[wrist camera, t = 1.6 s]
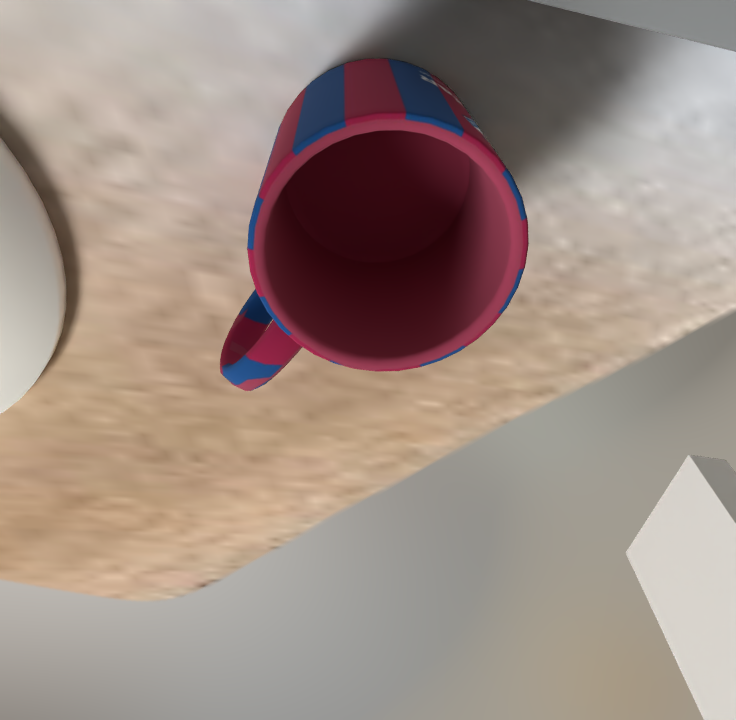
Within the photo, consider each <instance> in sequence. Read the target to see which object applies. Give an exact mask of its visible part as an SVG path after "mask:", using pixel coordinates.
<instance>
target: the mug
mask: <svg viewBox="0 0 736 720" xmlns="http://www.w3.org/2000/svg"><path fill="white" fill-rule="evenodd" d="M247 250H248V258H249V266H250V272H251V275H252V279H253V282H254V285H255V288H256V289H255V290H254V292H253V293H252V294H251V296H250V297H249V299H248V300H247V302H246V303H245V305H244V306H243V308H242V309H241V311H240V313H239V314H238V316H237V318H236V319H235V321H234V323H233V325H232V327H231V329H230V331H229V333H228V336H227V338H226V340H225V343H224V346H223V349H222V353H221V359H220V371H221V374H222V375H223V376H224V377H225V378H227V379H228V380H229V381H230V382H231V383H232V384H233V385H234V386H236V387H239V388H241V389H243V390H245V391H252V390H254V389H256V388H258V387H260V386H262V385H264V384H266V383H267V382H268V381H269V380H271V379H272V378H273V377H274V376H276V375H277V374H278V373H279V372H280V371H281V370H282V369H283V368H284V367H285V366H286V365H287V364H288V363H289V362H290V361H291V359H292V358H293V357H294V356H295V355H296V354H297V353H298V352H299V350H300V349H301V348H302V347H304V348H305V349H307V350H308V351H310V352H311V353H313V354H314V355H317V356H319V357H321V358H324V359H326V360H328V361H330V362H333V363H335V364H339V365H343V366H346V367H350V368H354V369H360V370H369V371H400V370H406V369H412V368H418V367H422V366H425V365H428V364H431V363H434V362H437V361H440V360H442V359H445V358H447V357H449V356H451V355H453V354H455V353H457V352H459V351H461V350H462V349H464V348H465V347H466V346H468V345H469V344H471V343H472V342H474V341H475V340H477V339H478V338H479V337H480V336H481V335H482V334H483V333H485V332H486V331H487V330H488V329H489V328H490V327H491V326H492V325H493V324H494V323H495V322H496V320H497V319H498V318H499V317H500V315H501V314H502V313H503V311H504V310H505V309H506V308H507V306H508V305H509V303H510V301H511V299H512V297H513V295H514V293H515V292H516V290H517V288H518V286H519V283H520V280H521V277H522V274H523V271H524V268H525V264H526V257H527V250H528V220H527V216H526V212H525V208H524V204H523V199H522V196H521V194H520V192H519V190H518V188H517V186H516V183H515V181H514V179H513V177H512V175H511V174H510V172H509V171H508V169H507V168H506V166H505V165H504V164H503V162H502V161H501V159H500V158H499V156H498V155H497V153H496V152H495V150H494V149H493V148H492V146H491V145H490V143H489V142H488V140H487V139H486V137H485V136H484V135H483V133H482V132H481V130H480V129H479V127H478V126H477V124H476V123H475V121H474V120H473V119H472V117H471V116H470V114H469V113H468V111H467V110H466V108H465V107H464V106H463V104H462V103H461V102H460V100H459V99H458V97H457V96H456V95H455V93H454V92H453V91H452V90H451V89H450V88H449V87H448V86H447V85H445V84H444V83H443V82H442V81H441V80H440V79H439V78H437V77H435V76H434V75H432V74H431V73H429V72H428V71H426V70H424V69H422V68H420V67H417V66H414V65H412V64H409V63H407V62H403V61H397V60H391V59H363V60H359V61H354V62H349V63H346V64H343V65H341V66H338V67H336V68H334V69H331V70H329V71H327V72H326V73H324V74H323V75H321V76H320V77H318V78H317V79H315V80H314V81H312V82H311V83H310V84H309V85H308V86H307V87H306V88H305V89H304V90H303V91H302V92H301V93H300V94H299V95H298V96H297V98H296V99H295V100H294V102H293V103H292V105H291V106H290V107H289V109H288V110H287V112H286V114H285V116H284V119H283V121H282V123H281V125H280V127H279V130H278V133H277V136H276V139H275V142H274V145H273V149H272V152H271V155H270V158H269V161H268V164H267V167H266V170H265V173H264V177H263V180H262V183H261V186H260V189H259V192H258V195H257V198H256V201H255V205H254V209H253V212H252V216H251V220H250V224H249V233H248V247H247ZM272 319H273V321H272ZM271 321H272V322H271ZM270 322H271V324H270ZM269 324H270V325H269ZM268 325H269V327H268ZM267 327H268V328H267ZM266 329H267V330H266ZM265 330H266V331H265Z"/></svg>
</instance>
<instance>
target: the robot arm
mask: <svg viewBox="0 0 736 720" xmlns="http://www.w3.org/2000/svg"><path fill="white" fill-rule="evenodd" d="M626 554H627V557H628V559H629V561H630V563H631V565H632V567H633V569H634V571H635V573H636V576H637V578H638V580H639V582H640V584H641V586H642V589H643V591H644V593H645V595H646V597H647V599H648V601H649V603H650V605H651V608H652V610H653V612H654V614H655V616H656V619H657V621H658V623H659V625H660V627H661V629H662V631H663V633H664V636H665V638H666V640H667V642H668V644H669V646H670V648H671V650H672V653H673V655H674V657H675V659H676V661H677V663H678V665H679V668H680V670H681V672H682V674H683V676H684V678H685V681H686V682H687V685H688V687H689V689H690V691H691V693H692V695H693V698H694V700H695V702H696V704H697V706H698V708H699V710H700V713H701V715H702V717H703V719H704V720H736V473H735V471H734V470H733V469H732V467H731V466H730V465H729V464H728V462H727V461H726V460H722V459H716V458H709V457H702V456H695V455H688V457H687V458H686V460H685V461H684V463H683V465H682V466H681V468H680V469H679V471H678V473H677V474H676V475H675V477H674V478H673V480H672V482H671V483H670V485H669V486H668V488H667V490H666V491H665V493H664V494H663V496H662V497H661V499H660V500H659V502H658V503H657V505H656V507H655V508H654V510H653V511H652V513H651V514H650V516H649V517H648V519H647V521H646V522H645V524H644V525H643V527H642V529H641V530H640V531H639V533H638V535H637V536H636V538H635V539H634V541H633V542H632V544H631V545H630V547H629V549H628V550H627V552H626Z"/></svg>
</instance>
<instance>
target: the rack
mask: <svg viewBox="0 0 736 720" xmlns="http://www.w3.org/2000/svg"><path fill="white" fill-rule="evenodd" d="M529 1H533V2H537V3H541V4H545V5H549V6H553V7H557V8H561V9H565V10H569V11H573V12H577V13H581V14H585V15H589V16H593V17H597V18H601V19H605V20H610V21H614V22H618V23H622V24H626V25H630V26H634V27H638V28H642V29H646V30H650V31H654V32H658V33H662V34H666V35H670V36H674V37H678V38H682V39H686V40H690V41H694V42H698V43H703V44H707V45H711V46H715V47H719V48H723V49H727V50H731V51H735V52H736V0H529Z"/></svg>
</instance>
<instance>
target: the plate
mask: <svg viewBox="0 0 736 720" xmlns="http://www.w3.org/2000/svg"><path fill="white" fill-rule="evenodd" d="M66 286H67V285H66V278H65V271H64V263H63V258H62V254H61V250H60V247H59V243H58V240H57V236H56V233H55V230H54V227H53V225H52V223H51V220H50V218H49V216H48V213H47V211H46V209H45V206H44V204H43V202H42V200H41V198H40V196H39V195H38V193H37V191H36V189H35V188H34V186H33V184H32V182H31V180H30V179H29V177H28V175H27V173H26V172H25V170H24V169H23V167H22V166H21V165H20V163H19V162H18V160H17V159H16V158H15V156H14V155H13V153H12V152H11V151H10V149H9V148H8V147H7V145H6V144H5V142H4V141H3V140H2V139H1V137H0V414H1V413H2V412H4V411H5V410H7V409H8V408H9V407H11V406H12V405H13V404H14V403H16V402H17V401H18V400H19V399H21V398H22V397H23V395H24V394H25V393H26V392H27V391H28V390H29V389H30V388H31V387H32V385H33V384H34V383H35V382H36V380H37V379H38V377H39V376H40V374H41V373H42V372H43V370H44V368H45V367H46V365H47V364H48V362H49V360H50V359H51V357H52V355H53V354H54V352H55V349H56V347H57V344H58V341H59V339H60V336H61V333H62V329H63V324H64V318H65V313H66Z"/></svg>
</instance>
